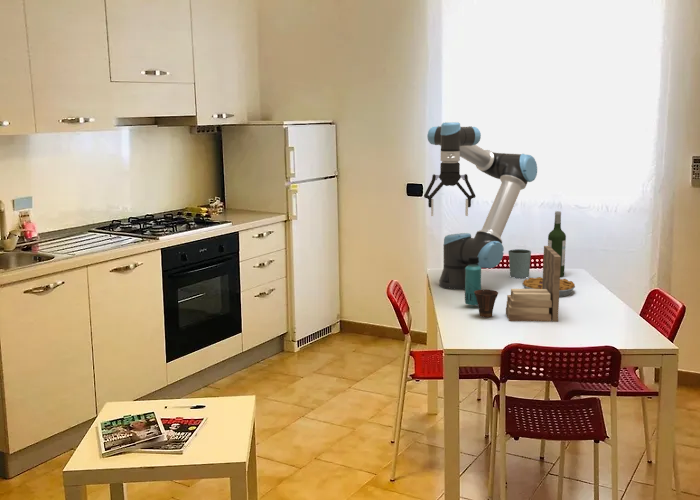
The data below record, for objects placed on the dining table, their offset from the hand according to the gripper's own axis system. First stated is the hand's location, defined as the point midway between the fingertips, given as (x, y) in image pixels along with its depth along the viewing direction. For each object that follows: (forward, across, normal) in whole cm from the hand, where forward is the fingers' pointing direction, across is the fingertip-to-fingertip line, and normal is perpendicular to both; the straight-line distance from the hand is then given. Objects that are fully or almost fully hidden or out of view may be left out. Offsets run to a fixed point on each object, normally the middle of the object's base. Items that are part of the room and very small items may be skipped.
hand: (449, 215), depth 298 cm
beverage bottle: (+35, +9, -10) cm, 37 cm away
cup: (+35, +13, -24) cm, 44 cm away
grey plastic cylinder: (+35, +35, +45) cm, 67 cm away
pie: (+35, +43, +16) cm, 58 cm away
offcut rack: (+35, +29, -19) cm, 49 cm away
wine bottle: (+35, +52, +47) cm, 78 cm away
